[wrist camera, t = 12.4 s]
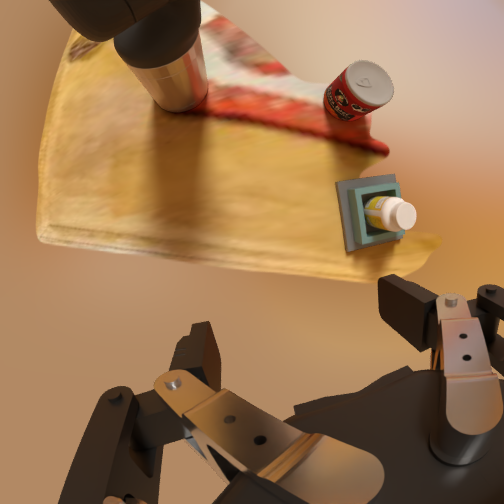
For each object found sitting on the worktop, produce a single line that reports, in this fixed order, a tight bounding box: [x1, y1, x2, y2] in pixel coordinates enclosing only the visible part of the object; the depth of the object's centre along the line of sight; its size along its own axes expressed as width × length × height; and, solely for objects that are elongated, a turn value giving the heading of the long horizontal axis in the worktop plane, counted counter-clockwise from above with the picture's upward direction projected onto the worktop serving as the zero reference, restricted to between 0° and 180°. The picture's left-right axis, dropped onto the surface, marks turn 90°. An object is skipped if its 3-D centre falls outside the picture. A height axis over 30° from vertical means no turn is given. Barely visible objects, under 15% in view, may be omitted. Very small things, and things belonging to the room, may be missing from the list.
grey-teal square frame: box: [335, 174, 405, 252], centre depth 43 cm, size 12×12×4 cm
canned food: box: [324, 60, 394, 121], centre depth 36 cm, size 8×8×11 cm
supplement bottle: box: [363, 196, 416, 232], centre depth 39 cm, size 5×5×10 cm
